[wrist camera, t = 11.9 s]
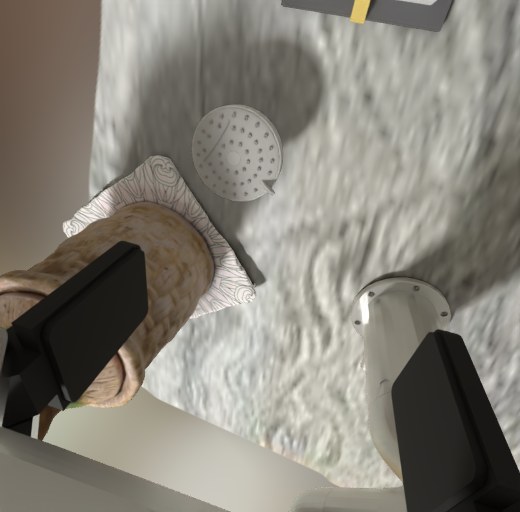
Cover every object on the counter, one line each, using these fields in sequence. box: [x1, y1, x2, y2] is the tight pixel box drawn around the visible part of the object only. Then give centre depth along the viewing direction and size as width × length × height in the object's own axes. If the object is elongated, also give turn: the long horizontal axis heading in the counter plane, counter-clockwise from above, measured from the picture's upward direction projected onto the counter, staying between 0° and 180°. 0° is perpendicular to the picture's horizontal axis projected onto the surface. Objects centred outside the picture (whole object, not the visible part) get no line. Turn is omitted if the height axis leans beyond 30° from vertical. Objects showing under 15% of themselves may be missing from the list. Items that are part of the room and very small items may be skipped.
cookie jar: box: [0, 155, 256, 441], centre depth 34 cm, size 25×25×32 cm
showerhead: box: [192, 104, 283, 202], centre depth 32 cm, size 9×7×10 cm
